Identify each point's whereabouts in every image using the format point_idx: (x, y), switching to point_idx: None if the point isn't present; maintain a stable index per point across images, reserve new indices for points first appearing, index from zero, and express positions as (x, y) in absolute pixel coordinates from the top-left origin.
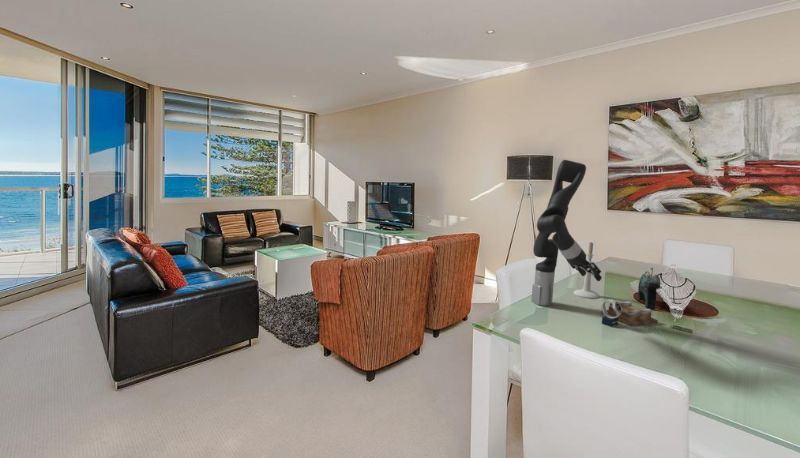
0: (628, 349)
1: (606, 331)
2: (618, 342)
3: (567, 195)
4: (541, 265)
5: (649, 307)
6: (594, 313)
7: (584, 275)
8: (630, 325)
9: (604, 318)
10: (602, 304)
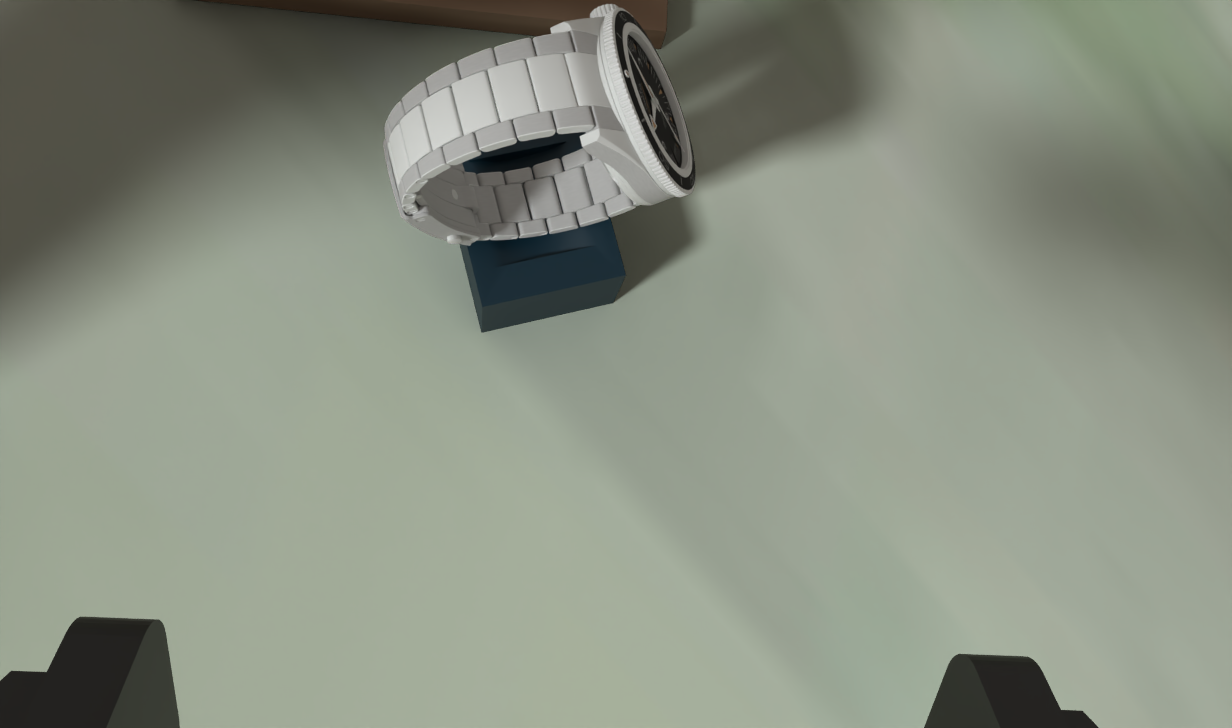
0: (1190, 693)
1: (711, 498)
2: (1014, 641)
3: None
4: None
5: None
6: (143, 101)
7: (174, 710)
8: (661, 39)
9: (517, 303)
10: (411, 196)
